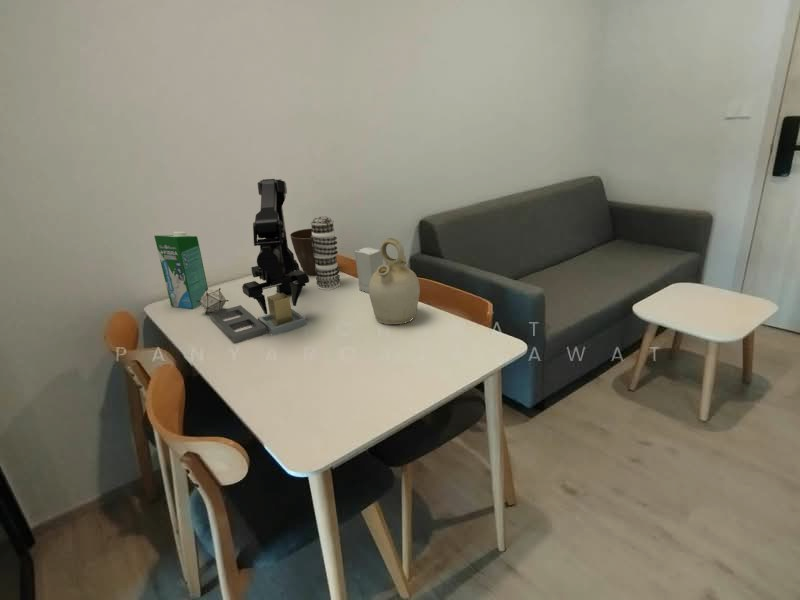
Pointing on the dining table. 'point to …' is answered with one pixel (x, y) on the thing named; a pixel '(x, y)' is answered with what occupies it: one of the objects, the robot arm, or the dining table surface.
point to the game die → (212, 300)
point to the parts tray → (274, 330)
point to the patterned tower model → (325, 253)
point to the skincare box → (367, 265)
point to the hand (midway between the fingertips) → (280, 309)
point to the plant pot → (304, 250)
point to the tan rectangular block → (280, 309)
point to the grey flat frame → (238, 324)
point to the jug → (394, 288)
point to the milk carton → (182, 268)
